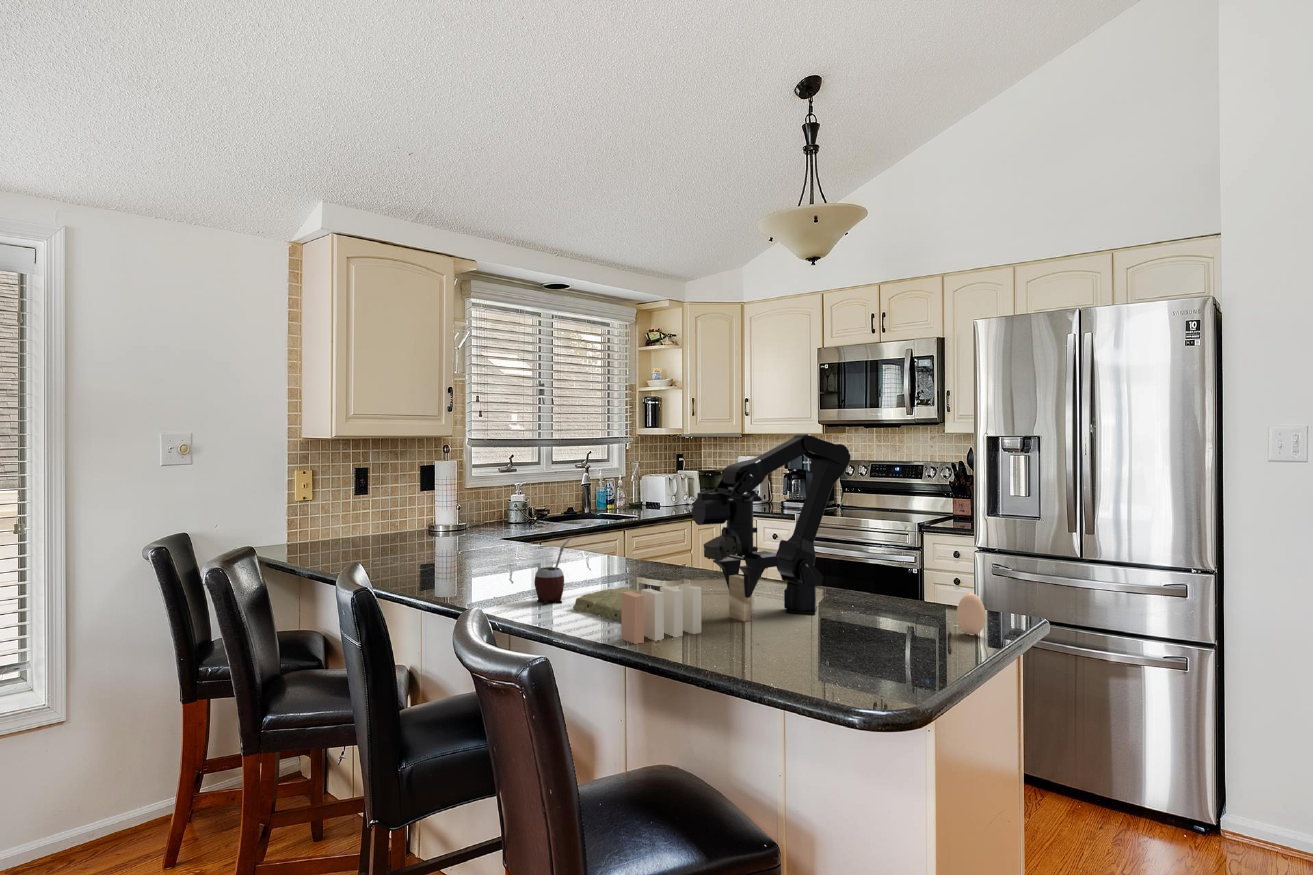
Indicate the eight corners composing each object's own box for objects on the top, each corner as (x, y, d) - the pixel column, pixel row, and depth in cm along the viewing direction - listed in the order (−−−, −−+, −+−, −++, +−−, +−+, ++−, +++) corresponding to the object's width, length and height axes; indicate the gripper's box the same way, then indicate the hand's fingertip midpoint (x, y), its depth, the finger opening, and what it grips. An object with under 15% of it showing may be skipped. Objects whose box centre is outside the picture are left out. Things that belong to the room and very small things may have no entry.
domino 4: (686, 627, 148) (686, 583, 148) (701, 632, 144) (701, 587, 144) (678, 628, 147) (678, 584, 147) (693, 634, 143) (693, 588, 143)
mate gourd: (529, 604, 169) (529, 540, 169) (543, 597, 177) (543, 536, 177) (559, 606, 167) (559, 541, 167) (571, 599, 175) (571, 537, 175)
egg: (983, 640, 138) (983, 597, 138) (954, 636, 141) (954, 594, 141) (987, 633, 143) (987, 592, 143) (959, 630, 146) (959, 589, 146)
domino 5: (736, 615, 158) (736, 574, 158) (751, 620, 154) (751, 578, 154) (729, 616, 157) (728, 575, 157) (743, 621, 153) (743, 579, 153)
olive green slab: (620, 598, 178) (620, 584, 178) (687, 610, 165) (687, 595, 165) (566, 613, 163) (566, 597, 163) (635, 627, 151) (635, 610, 151)
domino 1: (630, 637, 141) (630, 591, 141) (643, 643, 137) (643, 595, 137) (621, 638, 140) (621, 592, 140) (634, 644, 136) (634, 596, 136)
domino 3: (668, 630, 146) (668, 586, 146) (682, 636, 142) (682, 590, 142) (660, 632, 145) (660, 587, 145) (674, 637, 140) (674, 591, 141)
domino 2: (649, 633, 143) (649, 588, 143) (663, 639, 139) (663, 592, 139) (641, 635, 142) (641, 589, 142) (655, 641, 138) (655, 594, 138)
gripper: (684, 521, 159) (684, 591, 159) (738, 529, 143) (738, 608, 143) (724, 518, 165) (724, 586, 165) (780, 526, 149) (780, 601, 149)
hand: (739, 595), depth 156 cm, fingers closed on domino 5, 5 cm apart
